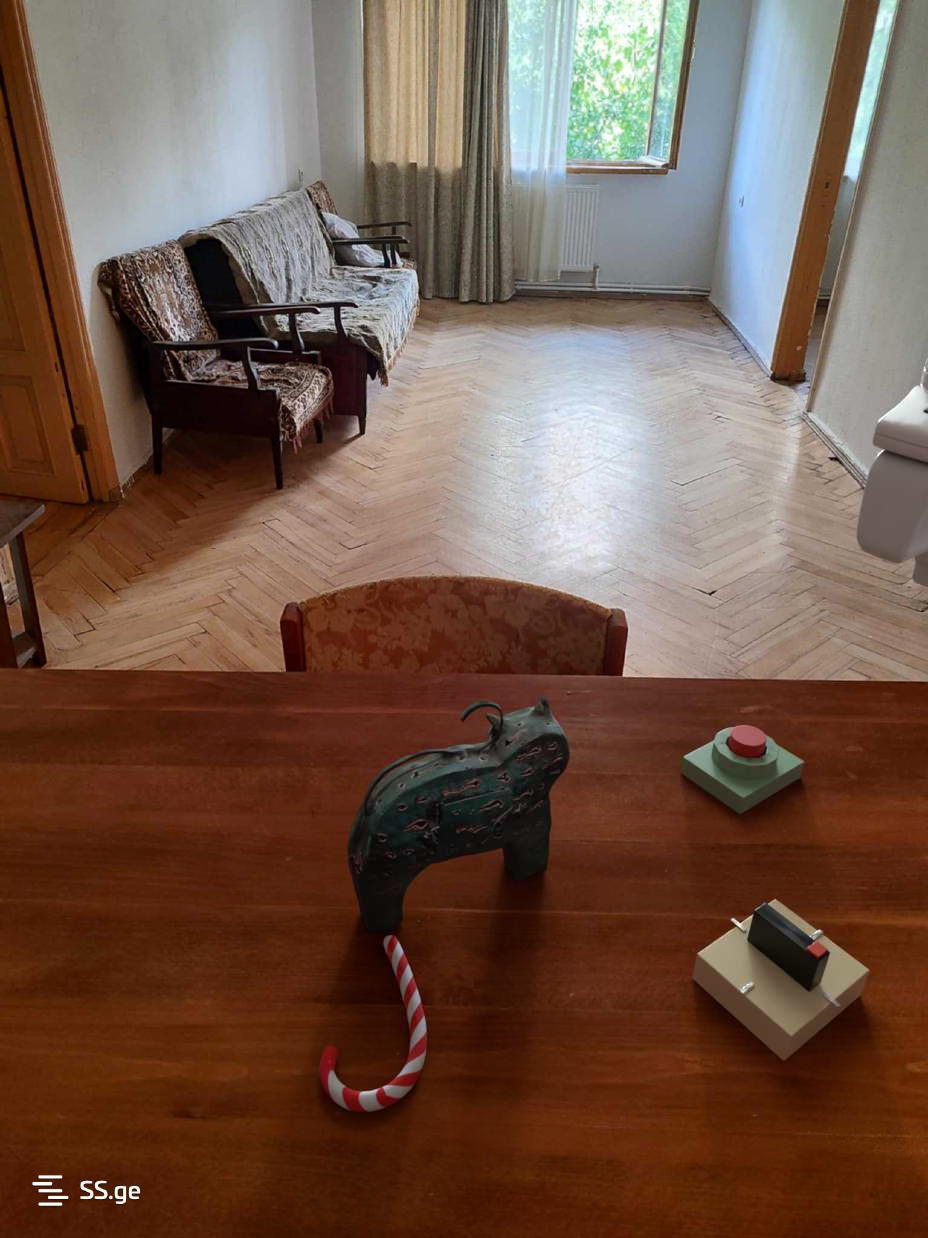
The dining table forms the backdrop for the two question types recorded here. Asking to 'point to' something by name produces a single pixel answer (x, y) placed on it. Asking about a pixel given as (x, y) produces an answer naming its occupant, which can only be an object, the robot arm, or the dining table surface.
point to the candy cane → (416, 1054)
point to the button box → (741, 772)
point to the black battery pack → (788, 946)
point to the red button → (747, 741)
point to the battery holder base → (777, 986)
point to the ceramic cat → (458, 809)
